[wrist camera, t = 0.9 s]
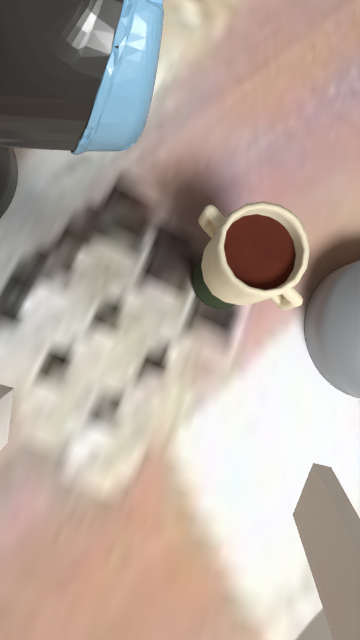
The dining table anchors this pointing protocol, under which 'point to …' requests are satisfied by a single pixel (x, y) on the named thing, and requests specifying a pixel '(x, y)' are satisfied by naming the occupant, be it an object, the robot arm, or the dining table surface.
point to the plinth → (336, 328)
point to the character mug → (251, 256)
